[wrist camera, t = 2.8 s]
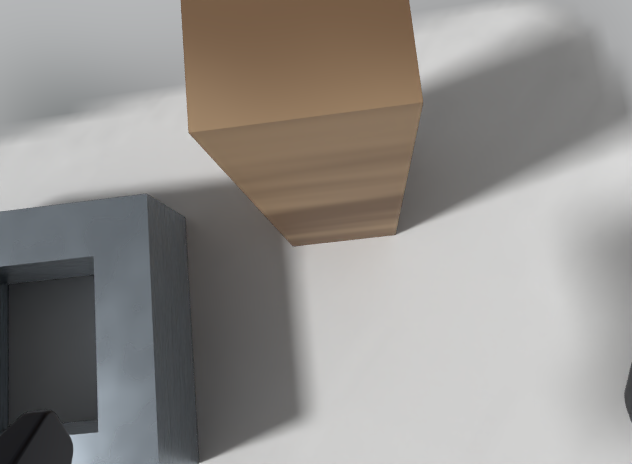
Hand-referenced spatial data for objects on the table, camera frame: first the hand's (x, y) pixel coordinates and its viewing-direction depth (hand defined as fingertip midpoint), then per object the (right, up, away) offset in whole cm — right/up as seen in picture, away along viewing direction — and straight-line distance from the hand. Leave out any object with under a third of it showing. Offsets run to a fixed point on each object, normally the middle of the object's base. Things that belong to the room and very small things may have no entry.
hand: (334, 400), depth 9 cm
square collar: (-10, -2, +14) cm, 17 cm away
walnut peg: (+1, +4, +14) cm, 14 cm away
